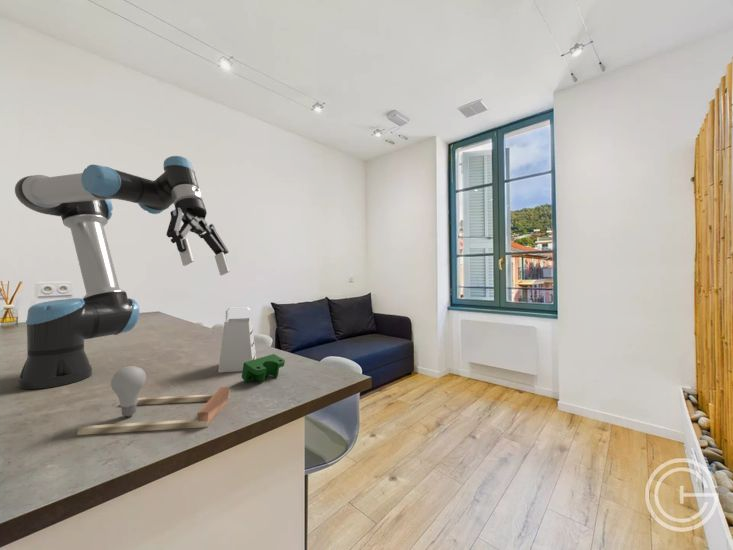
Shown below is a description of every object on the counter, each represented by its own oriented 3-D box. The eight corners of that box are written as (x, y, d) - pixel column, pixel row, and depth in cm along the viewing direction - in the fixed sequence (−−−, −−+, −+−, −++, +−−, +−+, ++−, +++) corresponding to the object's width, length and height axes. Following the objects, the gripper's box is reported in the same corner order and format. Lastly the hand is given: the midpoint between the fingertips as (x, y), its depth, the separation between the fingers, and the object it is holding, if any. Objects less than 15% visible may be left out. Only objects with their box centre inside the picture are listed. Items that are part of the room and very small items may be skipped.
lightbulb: (152, 412, 69) (152, 364, 69) (123, 425, 63) (123, 372, 63) (134, 408, 71) (133, 361, 71) (104, 420, 65) (103, 369, 65)
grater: (225, 362, 106) (225, 306, 106) (256, 360, 109) (256, 305, 109) (218, 372, 96) (218, 309, 96) (253, 370, 99) (253, 309, 99)
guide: (77, 435, 59) (77, 419, 59) (125, 403, 73) (125, 391, 73) (207, 427, 62) (207, 412, 62) (229, 398, 77) (229, 386, 77)
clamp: (257, 398, 87) (251, 375, 83) (244, 388, 90) (238, 366, 86) (288, 372, 96) (284, 350, 92) (276, 364, 99) (271, 343, 95)
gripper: (162, 177, 75) (182, 250, 70) (228, 214, 99) (247, 271, 94) (138, 191, 76) (156, 264, 71) (209, 224, 100) (227, 281, 95)
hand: (208, 268), depth 82 cm, fingers open, 13 cm apart
